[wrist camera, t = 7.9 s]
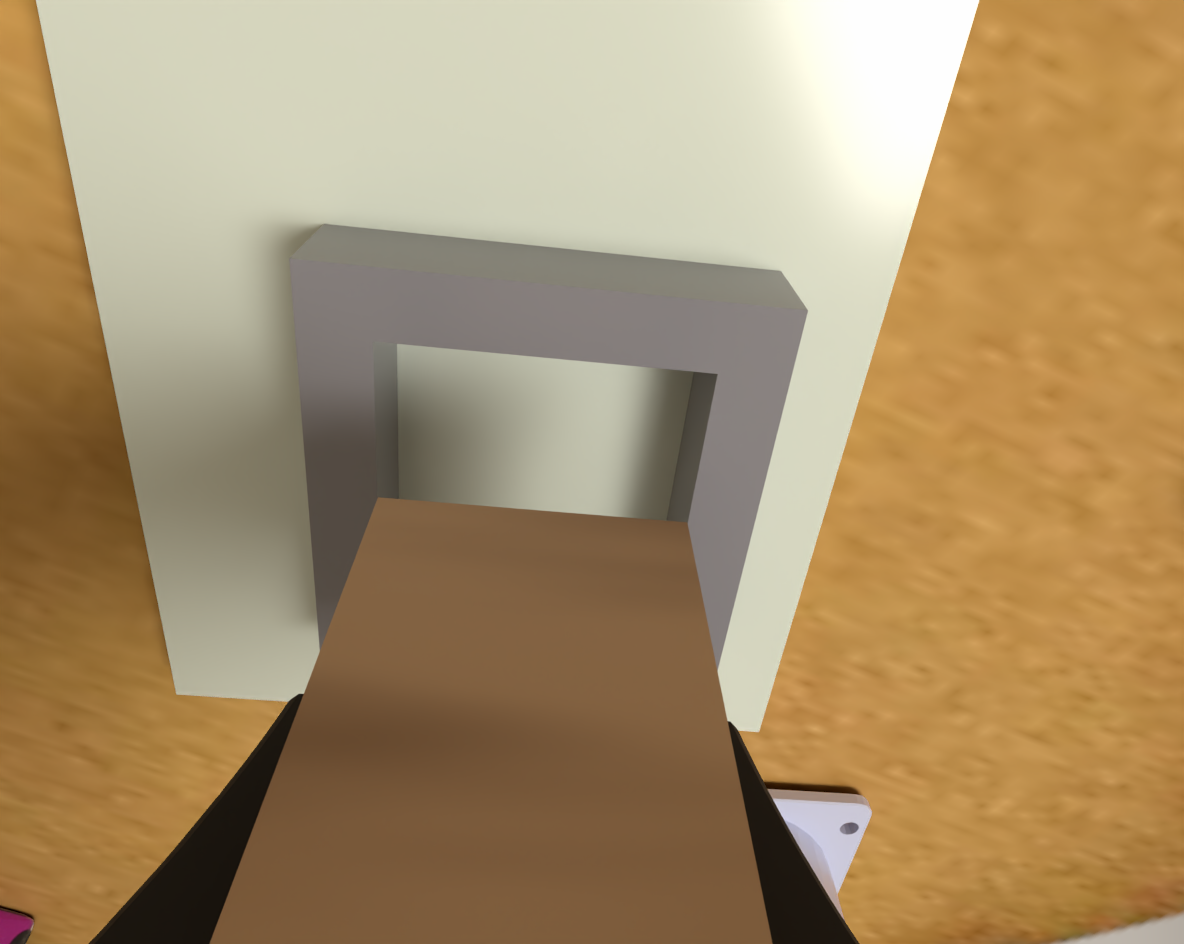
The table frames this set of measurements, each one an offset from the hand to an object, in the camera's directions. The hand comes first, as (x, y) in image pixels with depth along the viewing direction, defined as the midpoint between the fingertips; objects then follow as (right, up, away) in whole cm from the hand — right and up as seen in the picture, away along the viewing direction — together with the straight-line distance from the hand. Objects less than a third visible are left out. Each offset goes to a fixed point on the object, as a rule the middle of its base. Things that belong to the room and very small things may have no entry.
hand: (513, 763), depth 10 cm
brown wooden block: (0, +1, +2) cm, 2 cm away
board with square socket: (-1, +6, +6) cm, 9 cm away
